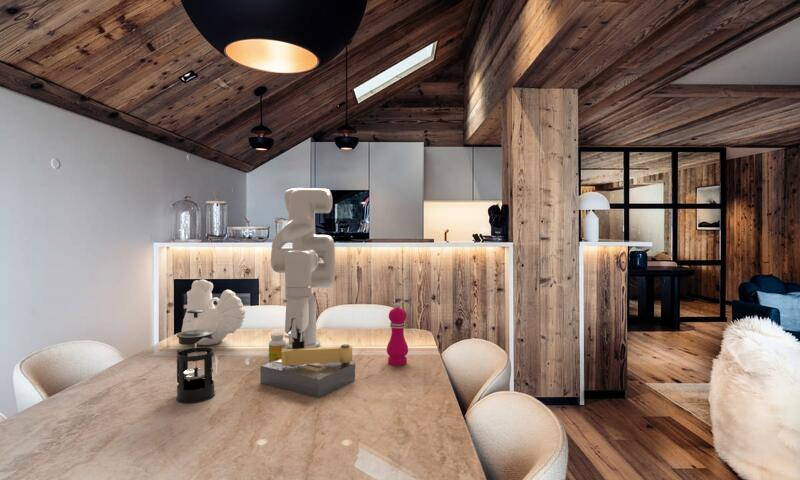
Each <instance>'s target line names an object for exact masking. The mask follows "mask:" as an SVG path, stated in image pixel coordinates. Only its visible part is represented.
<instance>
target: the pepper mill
mask: <svg viewBox="0 0 800 480" xmlns="http://www.w3.org/2000/svg"><path fill="white" fill-rule="evenodd" d="M388 319H389V321H390V323H389V324H390V325H389V327H390V329H391V335H390V338H389V341H388V343H387V345H386V353H387V355H388V357H387V364H389V365H390V366H394V367H395V366H399V367H401V366H404V365H406V364H407V361H408V359H407V355H408V353H409V346H408V344H407V341H406V339H405V336H404V328H405V327H406V325H405V324H406V323H405V321H406V319H407V313H406V310H405V309H403V308H401V304H400V303H398V302H397V303H395V305H394V308H392V309H391V310H390V311H389V312H388Z"/></svg>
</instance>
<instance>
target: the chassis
mask: <svg viewBox="0 0 800 480" xmlns="http://www.w3.org/2000/svg"><path fill="white" fill-rule="evenodd" d="M259 372H260V377H259V378H260V380H259V381H260V384H263V385H267V386H271V387H274V388H279V389H283V390H285V391H291V392H294V393H298V394H301V395H306V396H309V397H313V398H317V399H320V398H322V397H324V396H326V395H328V394H330V393H332V392H335V391H336V390H338V389H340V388H342V387H344V386H346V385H348V384H350V383H353V382H354V381H356V363H354V362H350V363H349V364H341V362H333V363H315V364H297V365H286V366H282V359H279V360H276V361H273V362H270V363H269V362H267V363H265V364H261V365H260V371H259Z"/></svg>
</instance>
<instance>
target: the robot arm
mask: <svg viewBox="0 0 800 480" xmlns="http://www.w3.org/2000/svg"><path fill="white" fill-rule="evenodd" d="M284 203H285V207H286V210H287V213H288V217H287V219H288V220H287V223H286V224H285V225H283V226H281V228H280V229H279V230H278V231H277V232H276V234H275V236H274V237H273V239H272V241H271V242H272V243H271V252H270V266H271V269H272V271H273V272H275V273H278V274H284V298H285V299H286V306H285V319H284V320H285V323H284V332H285V333H286V334H284V338H285V339H288V341H287V342H286V348H287V349H300V348H319V346H321V341H320V340H319V339H317V300H316V297H315V294H314V293H313V292H312V289H321V288H324V289H325V288H326V289H327V288H331V287H333V285H334V284H335V281H336V279H335V278H336V257H335V256H336V253H335V250H336V248H335V247H336V246H335V241H334V238H333V237H332V236H331V235H328V234H316V222H315V214H330V213H331V211H332V209H333V195H332V192H331V190H330V189H329V188H311V187H310V188H306V187H305V188H304V187H296V188H290V189H287V190H286V191H285V192H284ZM289 242H292V245H291V246H292V247H291V248H290V247H289V248H285V247H284V246H285V245H286V244H288V243H289ZM283 247H284V248H283ZM319 260H321V261H322V262H319Z"/></svg>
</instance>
